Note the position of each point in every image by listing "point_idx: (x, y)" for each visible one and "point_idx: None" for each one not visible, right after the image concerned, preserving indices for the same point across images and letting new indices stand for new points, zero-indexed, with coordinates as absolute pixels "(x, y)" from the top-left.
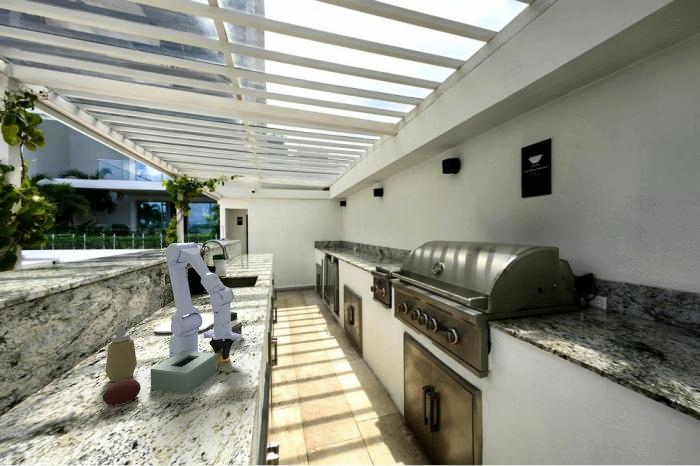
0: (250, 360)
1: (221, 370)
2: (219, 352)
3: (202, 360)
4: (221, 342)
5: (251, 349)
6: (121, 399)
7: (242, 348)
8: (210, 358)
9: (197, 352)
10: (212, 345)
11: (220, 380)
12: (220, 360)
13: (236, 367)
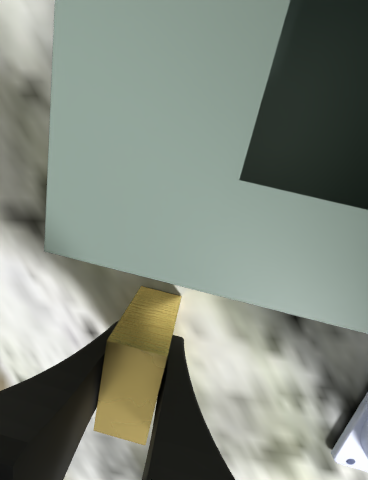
0: (10, 332)
1: None
2: (129, 359)
3: (111, 7)
4: (4, 468)
5: None
6: None
7: (121, 454)
8: (60, 134)
9: (329, 303)
10: (192, 446)
11: (48, 104)
12: (133, 305)
13: (41, 262)
